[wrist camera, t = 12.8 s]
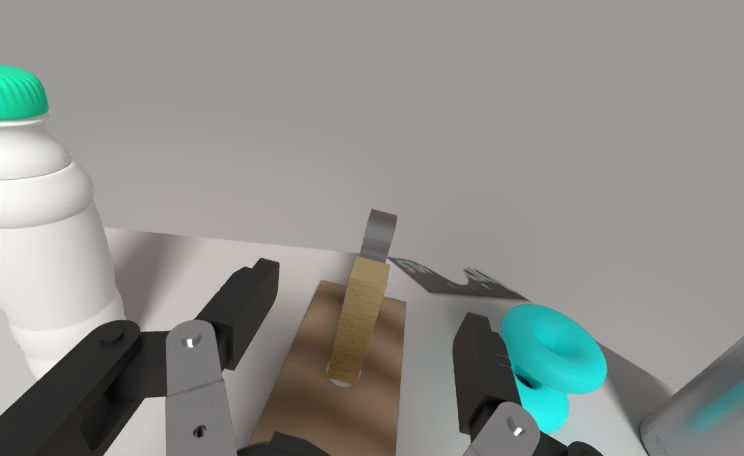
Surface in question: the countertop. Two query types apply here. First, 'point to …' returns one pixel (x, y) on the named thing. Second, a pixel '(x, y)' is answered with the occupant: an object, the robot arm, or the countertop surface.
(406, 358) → the countertop surface
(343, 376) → the brass leg
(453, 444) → the countertop surface
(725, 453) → the robot arm
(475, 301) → the countertop surface
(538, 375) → the donuts
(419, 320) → the countertop surface
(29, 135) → the water bottle
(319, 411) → the brown wooden stand
